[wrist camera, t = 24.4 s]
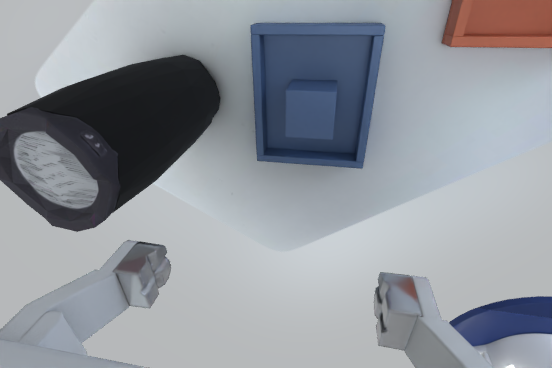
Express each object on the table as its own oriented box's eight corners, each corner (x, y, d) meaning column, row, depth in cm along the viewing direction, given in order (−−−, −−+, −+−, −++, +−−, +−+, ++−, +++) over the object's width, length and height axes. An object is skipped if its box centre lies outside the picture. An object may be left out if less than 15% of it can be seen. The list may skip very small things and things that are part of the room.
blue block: (333, 123, 32) (332, 140, 28) (291, 121, 33) (285, 137, 29) (337, 80, 30) (336, 91, 26) (292, 78, 30) (285, 90, 27)
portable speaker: (135, 81, 34) (-55, 155, 18) (193, 31, 30) (20, 66, 14) (184, 142, 37) (61, 254, 21) (243, 103, 33) (148, 204, 17)
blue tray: (361, 158, 34) (362, 168, 32) (261, 151, 36) (256, 161, 34) (382, 23, 27) (385, 25, 25) (256, 23, 29) (250, 25, 27)
